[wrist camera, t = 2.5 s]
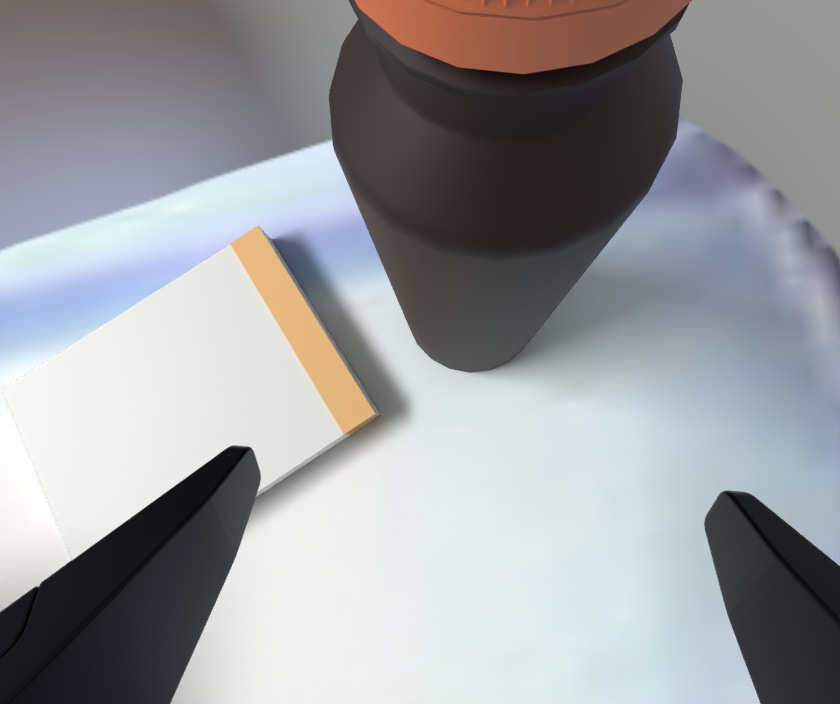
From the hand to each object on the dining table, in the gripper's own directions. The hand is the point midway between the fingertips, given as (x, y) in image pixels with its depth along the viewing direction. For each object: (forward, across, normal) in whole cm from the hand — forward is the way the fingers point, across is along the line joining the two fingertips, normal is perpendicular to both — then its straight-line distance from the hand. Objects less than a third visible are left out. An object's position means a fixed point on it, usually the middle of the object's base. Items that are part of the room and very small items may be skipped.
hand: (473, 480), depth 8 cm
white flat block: (+10, +14, +8) cm, 20 cm away
